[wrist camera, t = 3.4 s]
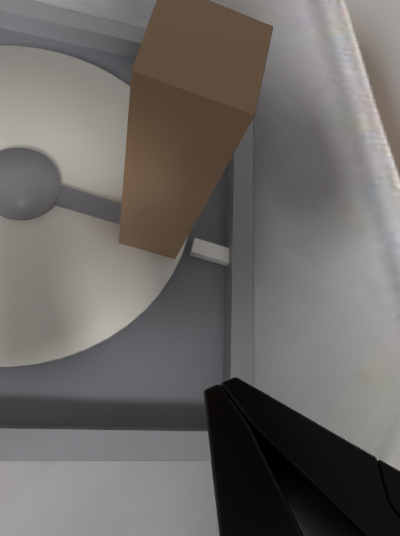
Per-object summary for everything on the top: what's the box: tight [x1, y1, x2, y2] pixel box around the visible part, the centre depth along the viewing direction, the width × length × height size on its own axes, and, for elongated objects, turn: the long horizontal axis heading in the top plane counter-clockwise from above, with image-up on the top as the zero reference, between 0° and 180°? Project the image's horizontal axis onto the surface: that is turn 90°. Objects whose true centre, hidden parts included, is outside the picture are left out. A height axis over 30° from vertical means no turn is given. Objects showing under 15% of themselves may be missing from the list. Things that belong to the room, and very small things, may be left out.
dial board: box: [0, 0, 254, 461], centre depth 16 cm, size 20×20×2 cm
